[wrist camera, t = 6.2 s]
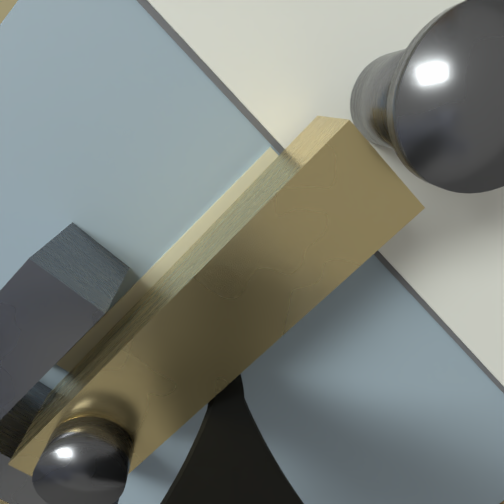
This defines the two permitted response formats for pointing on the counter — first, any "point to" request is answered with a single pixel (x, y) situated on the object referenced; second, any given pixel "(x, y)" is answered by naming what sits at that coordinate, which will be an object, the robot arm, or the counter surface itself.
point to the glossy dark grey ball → (442, 99)
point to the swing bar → (216, 311)
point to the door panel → (222, 197)
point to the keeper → (46, 334)
